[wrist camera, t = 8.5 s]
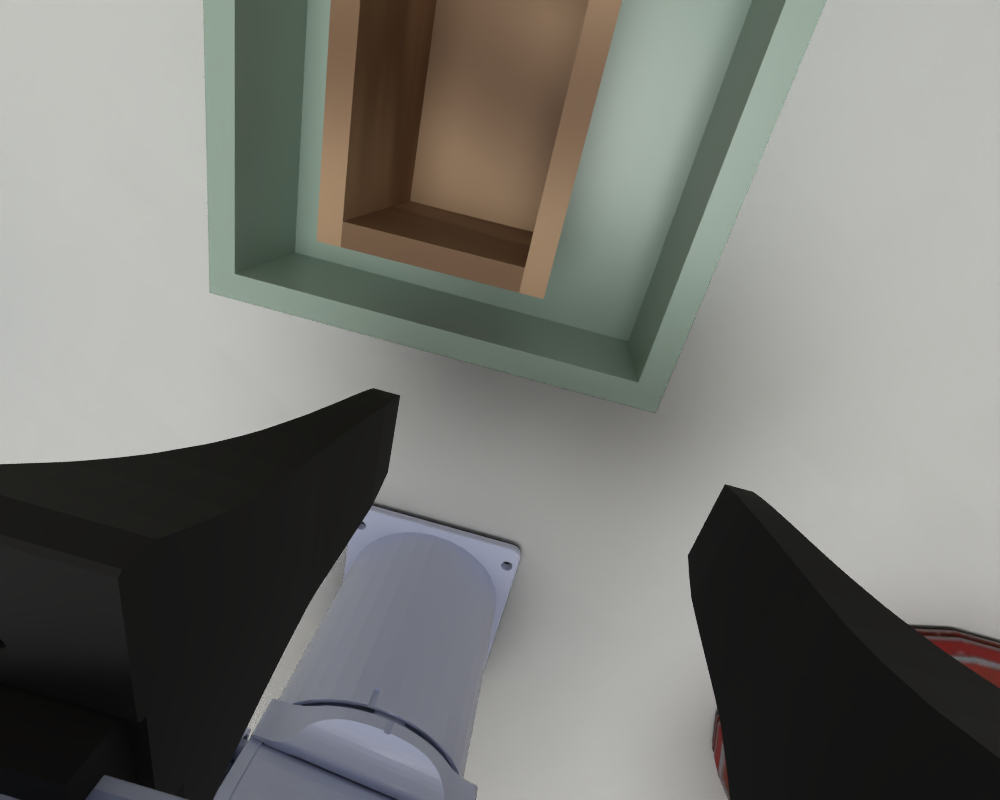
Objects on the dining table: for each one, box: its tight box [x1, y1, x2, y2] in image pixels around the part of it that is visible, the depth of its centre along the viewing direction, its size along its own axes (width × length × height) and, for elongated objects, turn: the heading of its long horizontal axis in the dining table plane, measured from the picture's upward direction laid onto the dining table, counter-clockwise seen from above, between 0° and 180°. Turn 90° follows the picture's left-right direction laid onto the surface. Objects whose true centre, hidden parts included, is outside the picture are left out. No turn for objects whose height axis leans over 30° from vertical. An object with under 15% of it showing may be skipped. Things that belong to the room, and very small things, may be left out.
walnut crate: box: [317, 0, 622, 299], centre depth 13 cm, size 8×6×6 cm
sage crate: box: [203, 0, 826, 413], centre depth 15 cm, size 14×14×4 cm
